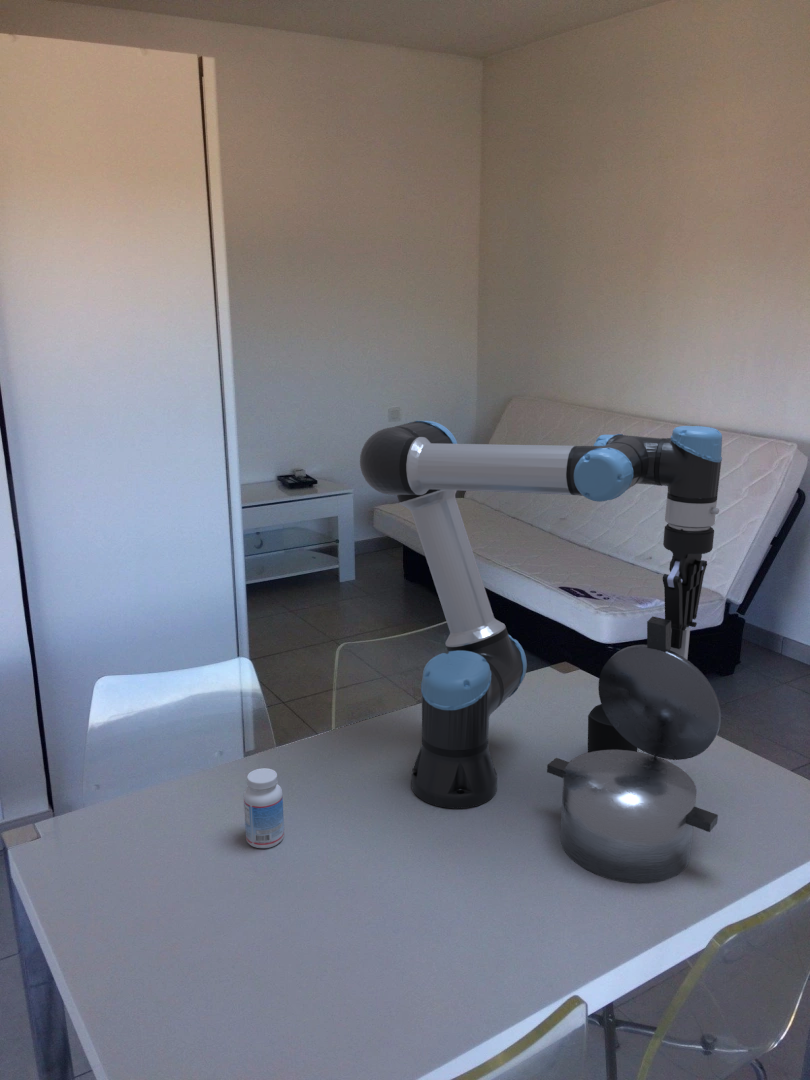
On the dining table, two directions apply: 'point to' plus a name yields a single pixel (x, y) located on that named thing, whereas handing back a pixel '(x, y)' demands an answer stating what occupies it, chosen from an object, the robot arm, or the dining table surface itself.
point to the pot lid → (659, 697)
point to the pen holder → (604, 733)
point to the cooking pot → (628, 815)
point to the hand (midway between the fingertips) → (677, 664)
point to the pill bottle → (263, 809)
